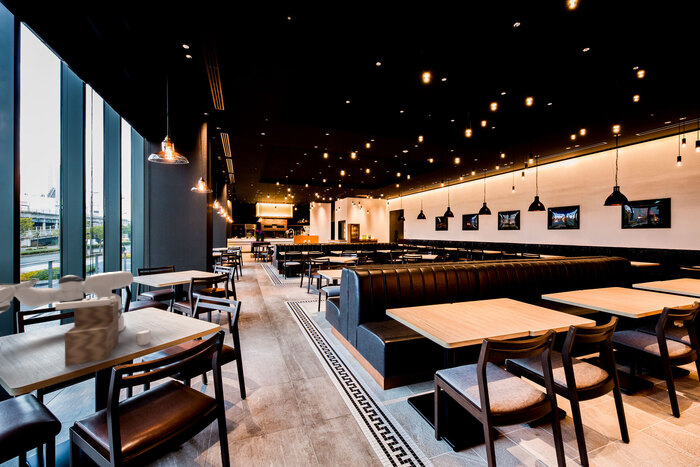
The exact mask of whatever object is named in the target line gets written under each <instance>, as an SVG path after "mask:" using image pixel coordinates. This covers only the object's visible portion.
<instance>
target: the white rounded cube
mask: <svg viewBox="0 0 700 467" xmlns="http://www.w3.org/2000/svg"><path fill="white" fill-rule="evenodd" d="M135 335H136V341H137V346H144V345H148V344H149V343H150V340H151V329H141V330H139V331H136V333H135Z"/></svg>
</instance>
